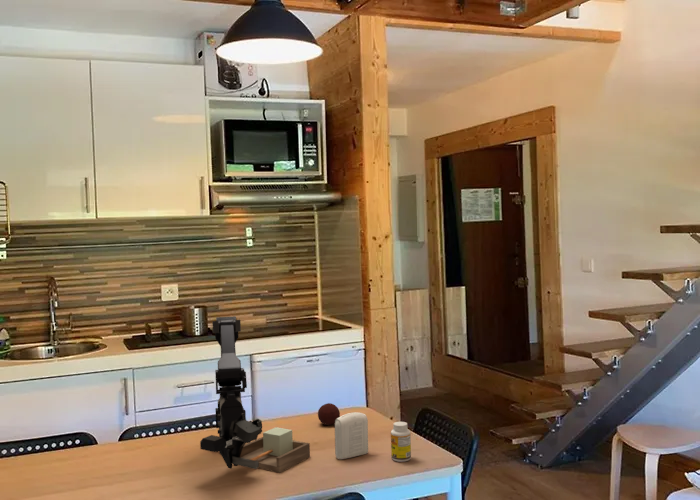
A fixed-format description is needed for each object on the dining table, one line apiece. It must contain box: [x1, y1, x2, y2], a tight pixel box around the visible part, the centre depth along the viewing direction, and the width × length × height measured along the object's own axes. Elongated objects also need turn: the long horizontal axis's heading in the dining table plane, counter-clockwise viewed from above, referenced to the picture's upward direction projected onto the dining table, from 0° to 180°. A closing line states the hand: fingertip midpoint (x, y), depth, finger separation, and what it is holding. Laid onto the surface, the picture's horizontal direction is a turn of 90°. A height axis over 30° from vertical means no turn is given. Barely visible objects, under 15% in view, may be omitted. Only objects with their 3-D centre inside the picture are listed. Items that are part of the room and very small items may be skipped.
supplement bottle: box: [390, 421, 412, 463], centre depth 192 cm, size 6×6×10 cm
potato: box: [317, 402, 341, 426], centre depth 228 cm, size 7×8×7 cm
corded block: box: [232, 426, 293, 470], centre depth 191 cm, size 10×20×6 cm, turn 147°
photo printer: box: [334, 411, 369, 460], centre depth 197 cm, size 10×4×12 cm, turn 123°
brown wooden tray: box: [240, 436, 311, 473], centre depth 195 cm, size 16×14×4 cm
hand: (232, 467), depth 186 cm, fingers closed on corded block, 2 cm apart
